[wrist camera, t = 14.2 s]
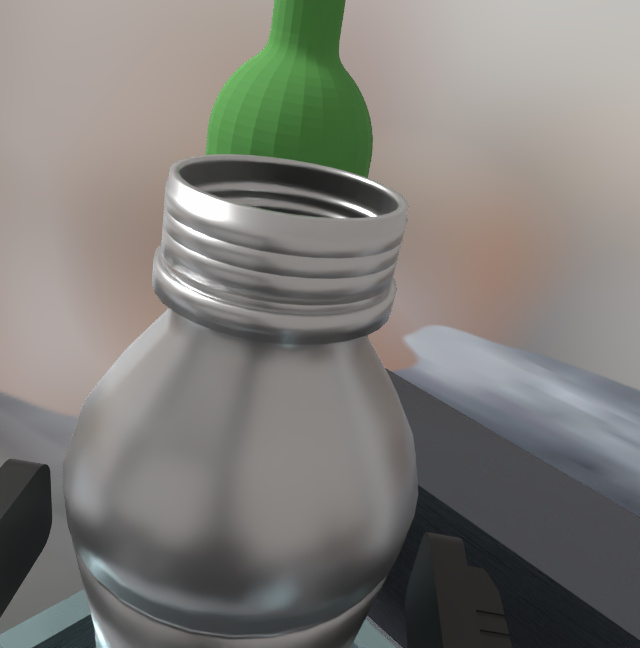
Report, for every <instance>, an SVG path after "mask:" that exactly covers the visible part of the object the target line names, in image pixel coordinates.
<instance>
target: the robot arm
mask: <svg viewBox="0 0 640 648" xmlns="http://www.w3.org/2000/svg"><path fill="white" fill-rule="evenodd" d="M51 524H52V503H51V479H50V469H49V466H48V465H46V464H40V463H35V462H29V461H23V460H17V459H9V460H7V461H6V462H5V463H4V464H3V465H2V466H1V468H0V617H1V616H2V614H3V612H4V611H5V609H6V608H7V606H8V604H9V603H10V601H11V600H12V598H13V596H14V595H15V593H16V592H17V590H18V588H19V587H20V585H21V584H22V582H23V580H24V579H25V577H26V576H27V574H28V572H29V571H30V569H31V568H32V566H33V564H34V563H35V561H36V560H37V558H38V556H39V555H40V553H41V552H42V550H43V548H44V546H45V544H46V542H47V539H48V537H49V533H50V530H51ZM405 617H406V632H407V648H512V645H511V640H510V639H509V632H508V628H507V623H506V619H504V611H503V606H502V602H501V598H500V594H499V590H498V589H497V587H496V586H495V584H494V583H493V581H492V580H491V578H490V577H489V575H488V574H487V572H486V571H485V569H484V568H478V567H473V566H468V565H467V560H466V554H465V549H464V544H463V541H462V539H461V538H458V537H452V536H446V535H440V534H435V533H429V532H426V533H425V534H424V536H423V538H422V541H421V544H420V548H419V551H418V554H417V557H416V560H415V563H414V566H413V570H412V573H411V576H410V579H409V582H408V587H407V593H406V602H405Z"/></svg>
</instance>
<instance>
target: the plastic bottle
mask: <svg viewBox="0 0 640 648" xmlns="http://www.w3.org/2000/svg"><path fill="white" fill-rule="evenodd" d="M408 207H409V206H408V203H407V200H406V199H405V198H404V197H403V196H402V195H401V194H399V193H398V192H396V191H395V190H393V189H392V188H390V187H387V186H385V185H383V184H381V183H379V182H376V181H374V180H371V179H368V178H366V177H363V176H360V175H357V174H353V173H350V172H347V171H343V170H339V169H335V168H331V167H327V166H322V165H318V164H313V163H308V162H302V161H296V160H290V159H282V158H275V157H266V156H255V155H236V154H215V155H202V156H195V157H189V158H185V159H182V160H179V161H177V162H175V163H174V164H172V165H171V167H170V170H169V178H168V179H167V182H166V185H165V202H164V216H163V231H162V243H161V245H160V246H159V247H158V248H157V249H156V251H155V255H154V260H153V275H152V285H153V288H154V292H155V294H156V295H157V296H158V298H159V299H160V300H161V301H162V302H163V304H165V305H166V306H167V307H168V309H167V310H166V311H165V312H164V313H163V314H162V315H161V316H160V317H159V318H158V319H157V320H156V321H155V322H154V323H153V324H152V325H151V326H150V327H149V328H147V330H145V332H143V333H142V334H141V335H140V336H139V337H138V338H137V339H136V340H135V341H134V342H133V343H132V344H131V345H130V346H129V347H128V348H127V349H126V350H125V351H124V352H123V353H122V355H121V356H120V357H119V358H118V359H117V361H116V362H115V363H114V364H113V365H112V367H111V368H110V369H109V370H108V371H107V373H106V374H105V375H104V377H103V378H102V379H101V380H100V381H99V383H98V384H97V385H96V386H95V388H94V389H93V390H92V391H91V393H90V394H89V396H88V397H87V398H86V400H85V401H84V403H83V406H82V409H81V412H80V414H79V417H78V420H77V423H76V426H75V429H74V431H73V434H72V437H71V440H70V443H69V446H68V449H67V452H66V455H65V458H64V461H63V493H64V499H65V505H66V514H67V522H68V527H69V530H70V533H71V536H72V542H73V546H74V549H75V553H76V557H77V561H78V565H79V569H80V573H81V577H82V581H83V585H84V589H85V593H86V597H87V601H88V605H89V609H90V613H91V617H92V621H93V625H94V631H95V642H96V648H352V645H353V642H354V640H355V638H356V636H357V634H358V632H359V630H360V628H361V626H362V624H363V622H364V620H365V618H366V617H367V615H368V613H369V611H370V609H371V607H372V605H373V603H374V601H375V599H376V597H377V595H378V593H379V591H380V589H381V587H382V585H383V583H384V581H385V579H386V577H387V575H388V573H389V572H390V571H391V569H392V567H393V565H394V563H395V561H396V559H397V557H398V555H399V553H400V551H401V549H402V546H403V543H404V541H405V538H406V535H407V533H408V530H409V528H410V525H411V523H412V520H413V518H414V515H415V510H416V504H417V498H418V481H417V467H416V453H415V446H414V439H413V433H412V431H411V428H410V426H409V423H408V420H407V418H406V415H405V413H404V410H403V408H402V405H401V402H400V400H399V397H398V395H397V392H396V390H395V388H394V385H393V383H392V381H391V379H390V377H389V375H388V373H387V371H386V369H385V368H384V366H383V364H382V362H381V360H380V358H379V356H378V355H377V353H376V351H375V349H374V347H373V345H372V343H371V341H370V340H369V338H368V334H370V333H372V332H374V331H376V330H378V329H380V328H381V327H382V326H383V325H384V324H385V323H386V322H387V321H388V318H389V316H390V313H391V310H392V306H393V302H394V298H395V294H396V290H397V289H396V281H395V279H394V278H393V276H394V272H395V268H396V264H397V260H398V256H399V252H400V248H401V244H402V241H403V236H404V232H405V229H406V224H407V221H408V219H407V215H406V213H407V210H408Z"/></svg>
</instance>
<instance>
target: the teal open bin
mask: <svg viewBox="0 0 640 648" xmlns="http://www.w3.org/2000/svg"><path fill="white" fill-rule="evenodd" d="M385 369H386V368H385ZM386 371H387V373H388V375H389V377H390V379H391V381H392V383H393V385H394V388H395V390H396V392H397V395H398V397H399V400H400V402H401V405H402V408H403V410H404V413H405V415H406V418H407V420H408V423H409V426H410V428H411V431H412V433H413V439H414V446H415V453H416V467H417V481H418V498H417V504H416V510H415V515H414V518H413V520H412V523H411V525H410V528H409V530H408V533H407V535H406V538H405V541H404V543H403V546H402V549H401V551H400V553H399V555H398V557H397V559H396V561H395V563H394V565H393V567H392V569H391V571H390V572H389V573H388V575H387V577H386V579H385V581H384V583H383V585H382V587H381V589H380V591H379V593H378V595H377V597H376V599H375V601H374V603H373V605H372V607H371V609H370V611H369V613H368V616H369V617H370V618H372V619H373V620H374V621H375V622H376V623H377V624H378V625H379V626H380V627H381V628H383V629H384V630H385V631H386V632H387V633H388V634H389V635H390V636H391V637H392V638H394V639H395V640H396V641H397V642H398V643H399V644H400V645H401V646H402V647H403V648H407V632H406V617H405V602H406V593H407V587H408V582H409V579H410V576H411V573H412V570H413V566H414V563H415V560H416V557H417V554H418V551H419V548H420V544H421V541H422V538H423V536H424V534H425V533H426V532H429V533H435V534H440V535H446V536H452V537H458V538H461V539H462V541H463V544H464V549H465V554H466V560H467V565H468V566H473V567H478V568H484V569H485V571H486V572H487V574H488V575H489V577H490V578H491V580H492V581H493V583H494V584H495V586H496V587H497V589H498V590H499V594H500V598H501V602H502V606H503V611H504V619H506V623H507V628H508V632H509V639H510V640H511V645H512V648H640V518H639V517H638V516H636V515H634V514H633V513H631V512H629V511H627V510H626V509H624V508H622V507H621V506H619V505H617V504H616V503H614V502H612V501H610V500H609V499H607V498H605V497H604V496H602V495H600V494H599V493H597V492H595V491H593V490H592V489H590V488H588V487H587V486H585V485H583V484H582V483H580V482H578V481H576V480H575V479H573V478H571V477H570V476H568V475H566V474H564V473H563V472H561V471H559V470H558V469H556V468H554V467H553V466H551V465H549V464H547V463H546V462H544V461H542V460H541V459H539V458H537V457H536V456H534V455H532V454H530V453H529V452H527V451H525V450H524V449H522V448H520V447H519V446H517V445H515V444H513V443H512V442H510V441H508V440H507V439H505V438H503V437H501V436H500V435H498V434H496V433H495V432H493V431H491V430H490V429H488V428H486V427H484V426H483V425H481V424H479V423H478V422H476V421H474V420H473V419H471V418H469V417H467V416H466V415H464V414H462V413H461V412H459V411H457V410H456V409H454V408H452V407H450V406H449V405H447V404H445V403H444V402H442V401H440V400H438V399H437V398H435V397H433V396H432V395H430V394H428V393H427V392H425V391H423V390H421V389H420V388H418V387H416V386H415V385H413V384H411V383H410V382H408V381H406V380H404V379H403V378H401V377H399V376H398V375H396V374H394V373H393V372H391V371H389V370H387V369H386ZM0 648H96V642H95V631H94V625H93V621H92V617H91V613H90V609H89V605H88V601H87V597H86V593H85V589H83V590H82V591H80V592H78V593H76V594H74V595H72V596H71V597H69V598H67V599H65V600H63V601H61V602H59V603H58V604H56V605H54V606H52V607H50V608H48V609H46V610H45V611H43V612H41V613H39V614H37V615H35V616H34V617H32V618H30V619H28V620H26V621H24V622H22V623H21V624H19V625H17V626H15V627H13V628H11V629H10V630H8V631H6V632H4V633H2V634H0ZM352 648H396V647H395V646H394V645H393V644H392V643H391V642H390V641H389V640H388V639H386V638H385V637H384V636H383V635H382V634H381V633H380V632H379V631H378V630H377V629H376V628H374V627H373V626H372V625H371V624H370V623H369V622H368V621H367V620H366V619H365V620H364V622H363V624H362V626H361V628H360V630H359V632H358V634H357V636H356V638H355V640H354V642H353V645H352Z"/></svg>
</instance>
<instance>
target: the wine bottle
mask: <svg viewBox="0 0 640 648" xmlns="http://www.w3.org/2000/svg"><path fill="white" fill-rule="evenodd" d="M344 7H345V0H274V9H273V18H272V25H271V31H270V36H269V40H268V43H267V45H266V46H265V48H264V49H263V50H262V51H261V52H260V53H259V54H257V55H256V56H254V57H253V58H252V59H250V60H248V61H247V62H246V63H244V64H243V65H242V66H241V67H240V68H238V70H237V71H236V72H235V73H234V74H233V75H232V76H231V77H230V78H229V79H228V81H227V82H226V83H225V85H224V86H223V88H222V90H221V91H220V93H219V95H218V97H217V99H216V101H215V104H214V107H213V109H212V113H211V116H210V120H209V126H208V135H207V147H206V155H215V154H236V155H255V156H266V157H275V158H282V159H290V160H296V161H302V162H308V163H313V164H318V165H322V166H327V167H331V168H335V169H339V170H343V171H347V172H350V173H353V174H357V175H360V176H363V177H366V178H368V173H369V168H370V162H371V156H372V143H373V137H372V126H371V121H370V116H369V112H368V109H367V106H366V103H365V101H364V98H363V96H362V94H361V92H360V90H359V88H358V86H357V85H356V83H355V81H354V80H353V79H352V77H351V76H350V75H349V73H348V72H347V71H346V70H345V68H344V67H343V65H342V63H341V61H340V58H339V40H340V33H341V27H342V20H343V13H344Z"/></svg>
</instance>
